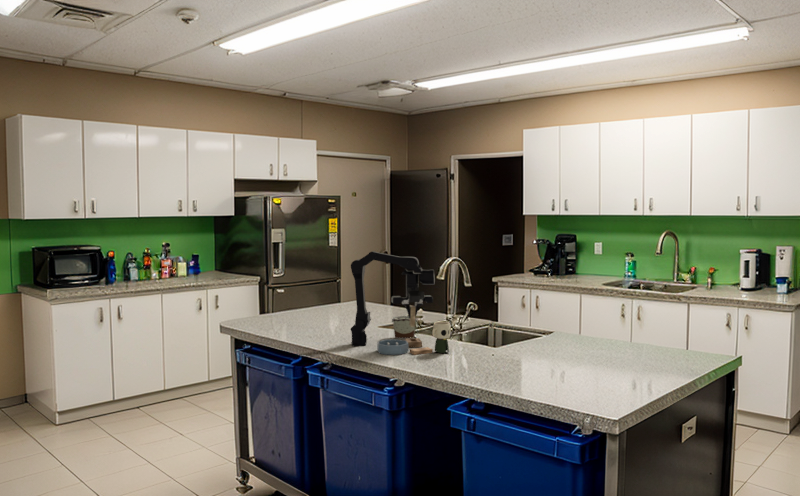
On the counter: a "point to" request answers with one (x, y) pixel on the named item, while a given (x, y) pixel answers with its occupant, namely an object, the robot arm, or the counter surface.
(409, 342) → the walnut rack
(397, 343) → the blue octagonal bowl
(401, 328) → the food container
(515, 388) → the counter surface
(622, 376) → the counter surface
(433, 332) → the character mug
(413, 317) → the bar
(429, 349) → the tapered wooden plank
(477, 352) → the counter surface
